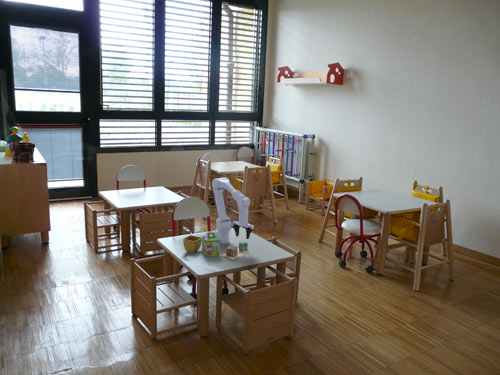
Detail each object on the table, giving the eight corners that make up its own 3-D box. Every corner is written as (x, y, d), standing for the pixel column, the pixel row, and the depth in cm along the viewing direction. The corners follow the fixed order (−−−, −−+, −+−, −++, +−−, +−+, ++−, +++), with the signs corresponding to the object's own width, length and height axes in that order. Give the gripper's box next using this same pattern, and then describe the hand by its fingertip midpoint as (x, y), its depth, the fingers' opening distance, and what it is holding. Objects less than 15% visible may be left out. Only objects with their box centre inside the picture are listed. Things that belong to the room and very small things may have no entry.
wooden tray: (220, 257, 258) (220, 248, 257) (237, 248, 274) (237, 239, 273) (233, 261, 253) (234, 252, 252) (250, 252, 269) (251, 243, 268)
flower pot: (202, 250, 269) (202, 237, 267) (194, 255, 261) (194, 241, 259) (190, 248, 272) (190, 234, 270) (182, 252, 265) (182, 238, 263)
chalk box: (205, 259, 256) (205, 236, 253) (201, 253, 264) (201, 231, 261) (219, 258, 259) (220, 235, 256) (215, 252, 267) (216, 230, 264)
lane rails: (217, 257, 259) (217, 255, 259) (240, 245, 281) (240, 243, 281) (236, 263, 252) (236, 260, 252) (258, 250, 274) (258, 248, 274)
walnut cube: (226, 255, 259) (226, 247, 258) (230, 253, 263) (230, 245, 262) (232, 257, 256) (233, 249, 255) (237, 255, 260) (237, 247, 259)
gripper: (230, 215, 265) (229, 236, 268) (250, 220, 257) (249, 241, 260) (236, 213, 271) (235, 233, 274) (256, 217, 263) (254, 238, 266)
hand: (242, 237), depth 267 cm, fingers open, 7 cm apart
